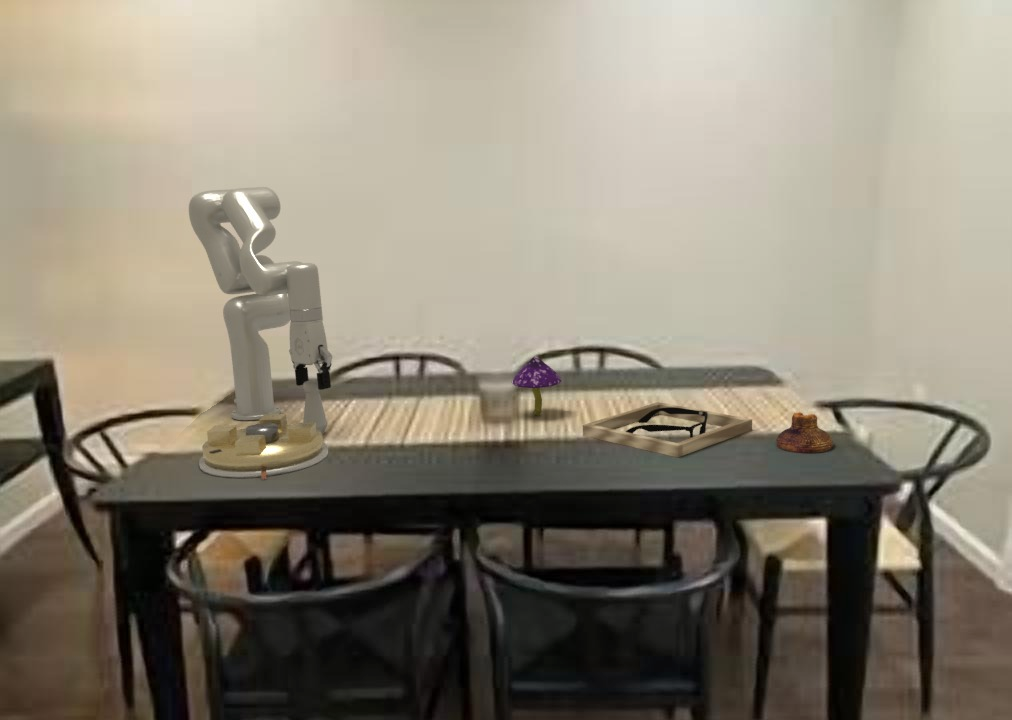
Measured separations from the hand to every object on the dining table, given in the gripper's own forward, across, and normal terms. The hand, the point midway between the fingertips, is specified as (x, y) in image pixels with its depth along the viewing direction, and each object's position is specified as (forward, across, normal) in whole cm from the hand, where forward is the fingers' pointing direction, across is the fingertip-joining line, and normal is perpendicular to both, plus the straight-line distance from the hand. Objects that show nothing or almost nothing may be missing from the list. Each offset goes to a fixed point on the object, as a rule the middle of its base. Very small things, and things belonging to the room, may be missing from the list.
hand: (313, 386), depth 241 cm
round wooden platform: (+11, +8, -19) cm, 23 cm away
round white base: (+12, +8, -19) cm, 24 cm away
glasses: (+14, +65, +52) cm, 84 cm away
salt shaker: (+12, -1, 0) cm, 12 cm away
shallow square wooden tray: (+14, +65, +52) cm, 84 cm away
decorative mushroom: (+13, +30, +45) cm, 56 cm away
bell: (+15, +94, +62) cm, 114 cm away
